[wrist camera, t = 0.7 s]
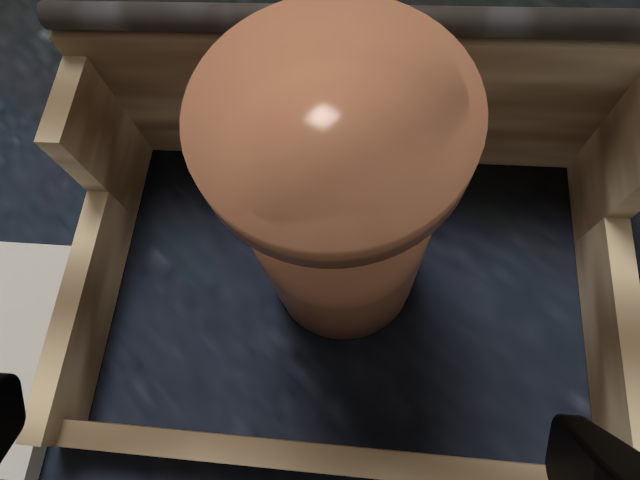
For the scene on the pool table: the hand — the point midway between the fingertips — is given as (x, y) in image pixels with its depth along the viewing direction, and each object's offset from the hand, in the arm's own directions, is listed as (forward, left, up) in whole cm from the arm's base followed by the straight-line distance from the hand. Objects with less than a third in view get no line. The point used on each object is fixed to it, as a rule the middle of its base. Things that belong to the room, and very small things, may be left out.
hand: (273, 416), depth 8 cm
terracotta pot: (+6, +4, -14) cm, 15 cm away
